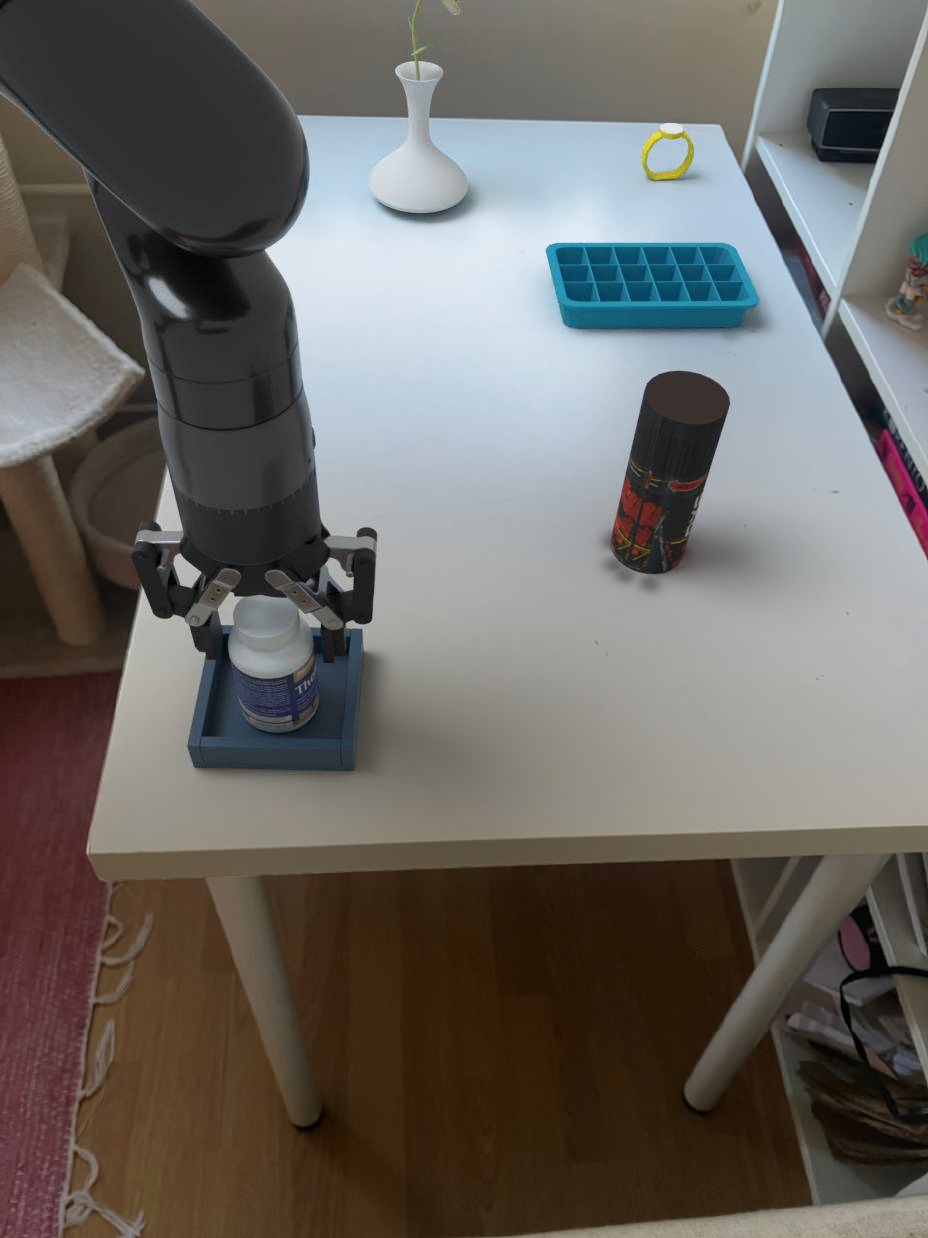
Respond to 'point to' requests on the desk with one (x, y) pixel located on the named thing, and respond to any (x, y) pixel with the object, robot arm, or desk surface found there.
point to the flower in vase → (419, 146)
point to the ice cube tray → (650, 284)
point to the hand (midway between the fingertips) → (273, 650)
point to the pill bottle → (273, 663)
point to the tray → (313, 746)
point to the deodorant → (668, 469)
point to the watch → (669, 133)
